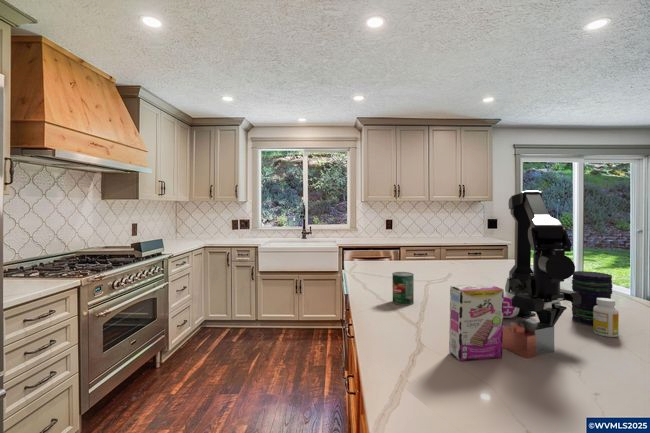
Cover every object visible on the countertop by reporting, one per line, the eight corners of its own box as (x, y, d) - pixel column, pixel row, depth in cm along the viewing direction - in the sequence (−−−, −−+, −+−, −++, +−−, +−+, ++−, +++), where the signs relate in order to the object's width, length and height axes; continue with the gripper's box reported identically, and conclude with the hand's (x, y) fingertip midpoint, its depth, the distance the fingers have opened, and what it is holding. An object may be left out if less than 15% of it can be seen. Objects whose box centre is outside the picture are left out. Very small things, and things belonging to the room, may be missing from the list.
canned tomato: (416, 301, 127) (416, 273, 127) (409, 306, 120) (409, 276, 120) (396, 298, 131) (396, 271, 131) (389, 303, 124) (389, 274, 124)
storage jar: (606, 319, 105) (606, 272, 105) (617, 329, 97) (618, 278, 96) (568, 315, 110) (568, 270, 110) (575, 324, 101) (576, 275, 101)
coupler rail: (536, 339, 89) (536, 314, 88) (563, 349, 82) (563, 322, 82) (500, 347, 84) (500, 320, 84) (526, 358, 77) (526, 329, 77)
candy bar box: (460, 362, 75) (460, 290, 75) (448, 353, 80) (448, 285, 80) (504, 358, 77) (504, 288, 77) (490, 349, 82) (490, 283, 82)
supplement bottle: (612, 331, 94) (612, 297, 94) (622, 338, 89) (622, 302, 89) (589, 329, 96) (590, 296, 96) (598, 336, 91) (598, 300, 91)
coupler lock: (530, 341, 87) (530, 318, 87) (554, 350, 81) (555, 326, 81) (510, 345, 85) (510, 322, 85) (534, 355, 79) (535, 330, 79)
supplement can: (472, 319, 103) (521, 319, 103) (471, 292, 104) (519, 292, 104) (462, 316, 111) (507, 316, 111) (461, 290, 112) (505, 291, 112)
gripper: (540, 265, 96) (540, 319, 96) (492, 270, 89) (493, 328, 89) (582, 271, 85) (582, 331, 85) (533, 277, 78) (533, 343, 78)
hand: (546, 333), depth 85 cm, fingers closed
